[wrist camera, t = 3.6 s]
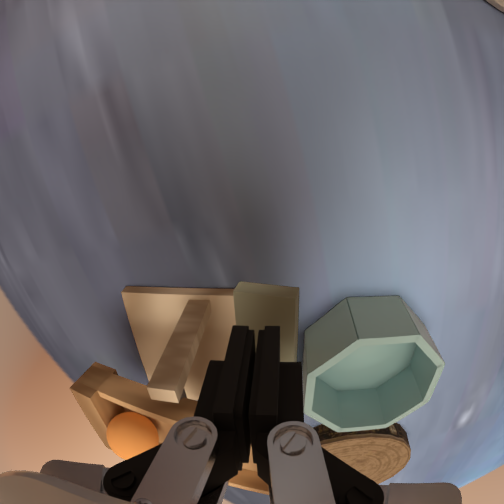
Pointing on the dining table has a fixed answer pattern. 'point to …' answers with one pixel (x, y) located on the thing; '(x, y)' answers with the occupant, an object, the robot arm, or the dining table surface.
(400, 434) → the wood log slice
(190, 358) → the frame
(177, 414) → the lever
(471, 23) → the dining table surface
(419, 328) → the green octagonal bowl
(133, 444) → the ball
